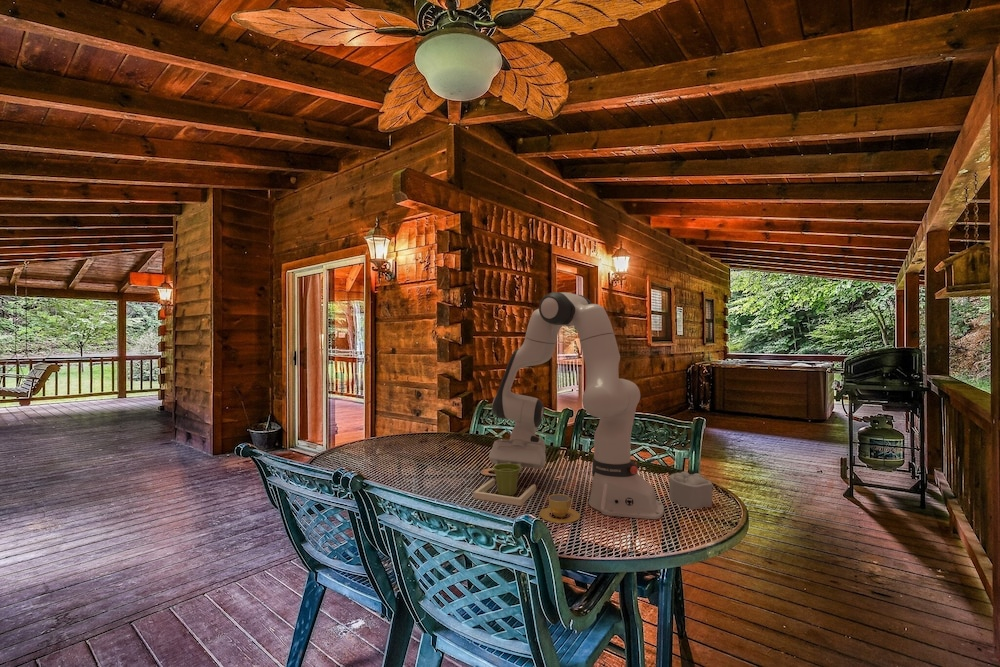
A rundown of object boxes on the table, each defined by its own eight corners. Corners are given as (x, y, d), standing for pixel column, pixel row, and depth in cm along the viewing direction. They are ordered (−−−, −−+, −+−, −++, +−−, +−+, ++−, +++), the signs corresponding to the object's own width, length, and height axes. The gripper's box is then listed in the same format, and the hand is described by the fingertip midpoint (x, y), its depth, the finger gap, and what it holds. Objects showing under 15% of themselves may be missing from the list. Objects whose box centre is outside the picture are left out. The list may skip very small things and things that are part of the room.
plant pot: (488, 490, 157) (488, 465, 157) (512, 486, 161) (512, 461, 161) (500, 499, 148) (501, 472, 148) (526, 495, 153) (526, 468, 153)
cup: (576, 527, 129) (576, 507, 129) (534, 520, 133) (534, 502, 133) (583, 511, 140) (583, 493, 140) (544, 506, 144) (544, 488, 144)
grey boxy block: (692, 511, 140) (692, 482, 140) (660, 497, 152) (661, 470, 152) (716, 506, 144) (717, 478, 144) (684, 492, 156) (684, 467, 156)
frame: (536, 490, 157) (536, 484, 157) (520, 506, 143) (520, 499, 143) (491, 484, 163) (491, 478, 163) (473, 498, 149) (473, 492, 149)
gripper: (492, 433, 170) (481, 467, 161) (546, 439, 162) (537, 475, 153) (497, 443, 174) (486, 476, 165) (550, 449, 166) (541, 484, 157)
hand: (511, 476), depth 159 cm, fingers closed, pressing on plant pot
